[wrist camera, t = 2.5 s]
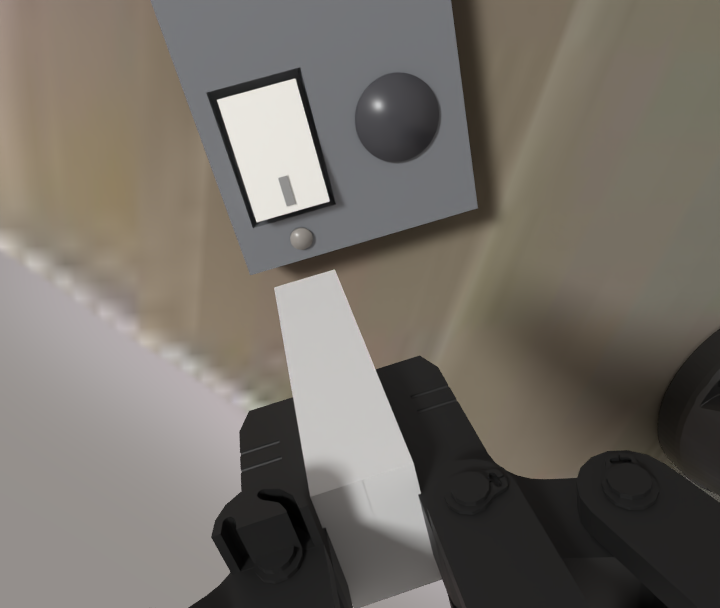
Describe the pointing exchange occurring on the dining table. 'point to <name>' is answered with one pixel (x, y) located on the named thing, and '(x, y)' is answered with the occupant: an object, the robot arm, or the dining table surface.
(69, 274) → the dining table surface
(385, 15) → the rocker switch box
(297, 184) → the rocker
